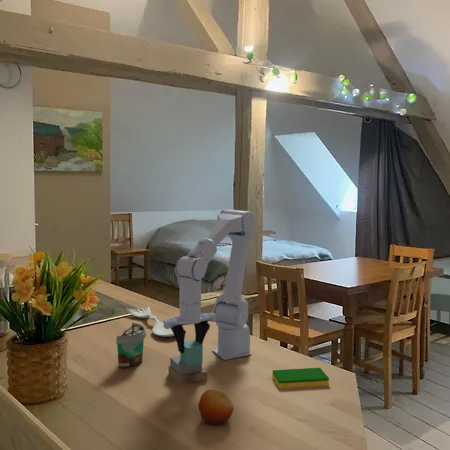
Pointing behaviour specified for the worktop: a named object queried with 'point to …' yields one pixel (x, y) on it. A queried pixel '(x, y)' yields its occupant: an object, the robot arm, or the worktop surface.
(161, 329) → the spoon
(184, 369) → the gray block
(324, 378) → the dish sponge
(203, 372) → the walnut slab
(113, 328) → the worktop surface
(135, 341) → the food container
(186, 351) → the teal block
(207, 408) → the fruit
